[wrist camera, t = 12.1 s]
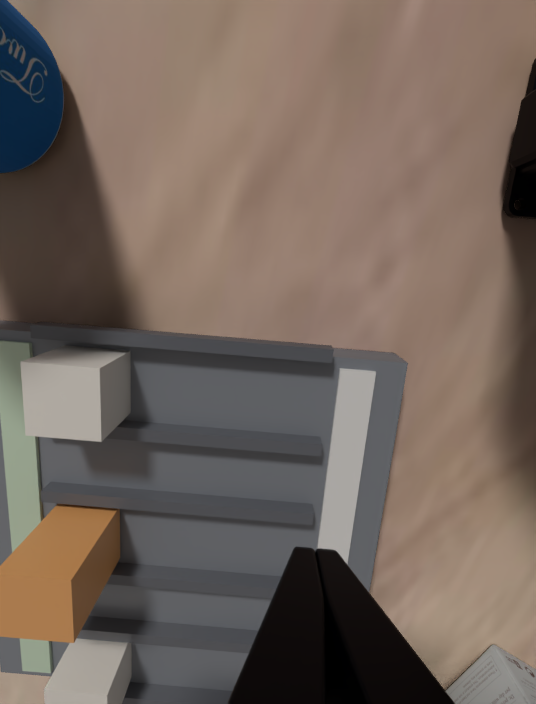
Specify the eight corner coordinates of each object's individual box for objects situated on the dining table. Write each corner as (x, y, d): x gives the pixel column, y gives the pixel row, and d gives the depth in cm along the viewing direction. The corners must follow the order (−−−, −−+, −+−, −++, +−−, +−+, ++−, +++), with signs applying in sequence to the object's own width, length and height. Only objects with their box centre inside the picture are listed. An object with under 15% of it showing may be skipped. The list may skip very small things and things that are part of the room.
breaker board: (395, 343, 19) (437, 370, 14) (343, 672, 23) (360, 780, 18) (-4, 310, 19) (-103, 325, 14) (24, 644, 23) (-42, 743, 19)
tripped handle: (119, 506, 19) (71, 580, 14) (120, 557, 19) (73, 643, 15) (60, 501, 19) (-7, 573, 14) (62, 552, 19) (-1, 636, 15)
